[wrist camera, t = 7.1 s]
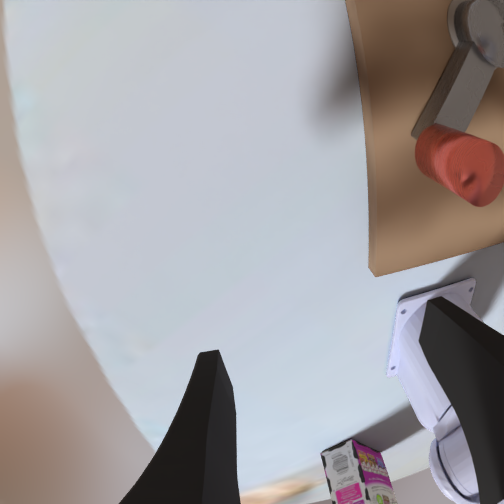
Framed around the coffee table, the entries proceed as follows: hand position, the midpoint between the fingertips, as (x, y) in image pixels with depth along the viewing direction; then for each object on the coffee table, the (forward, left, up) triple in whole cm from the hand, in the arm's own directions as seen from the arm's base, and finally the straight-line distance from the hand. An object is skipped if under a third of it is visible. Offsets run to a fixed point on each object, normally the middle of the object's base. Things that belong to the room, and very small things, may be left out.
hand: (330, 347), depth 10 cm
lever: (+10, -13, -8) cm, 19 cm away
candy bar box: (-36, -6, -10) cm, 38 cm away
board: (+7, -20, -10) cm, 23 cm away
